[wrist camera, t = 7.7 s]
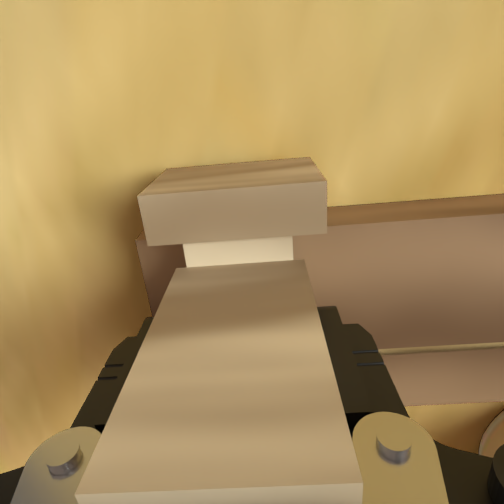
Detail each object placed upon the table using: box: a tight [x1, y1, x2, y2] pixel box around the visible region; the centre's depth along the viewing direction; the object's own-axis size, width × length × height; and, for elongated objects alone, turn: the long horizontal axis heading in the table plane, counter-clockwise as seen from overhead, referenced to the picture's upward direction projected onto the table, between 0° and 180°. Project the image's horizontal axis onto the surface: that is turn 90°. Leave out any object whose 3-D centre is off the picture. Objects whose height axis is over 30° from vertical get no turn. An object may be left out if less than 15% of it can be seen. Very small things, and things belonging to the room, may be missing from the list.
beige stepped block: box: [75, 157, 363, 504], centre depth 10 cm, size 9×5×10 cm, turn 5°
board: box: [135, 194, 504, 406], centre depth 14 cm, size 8×20×2 cm, turn 95°
